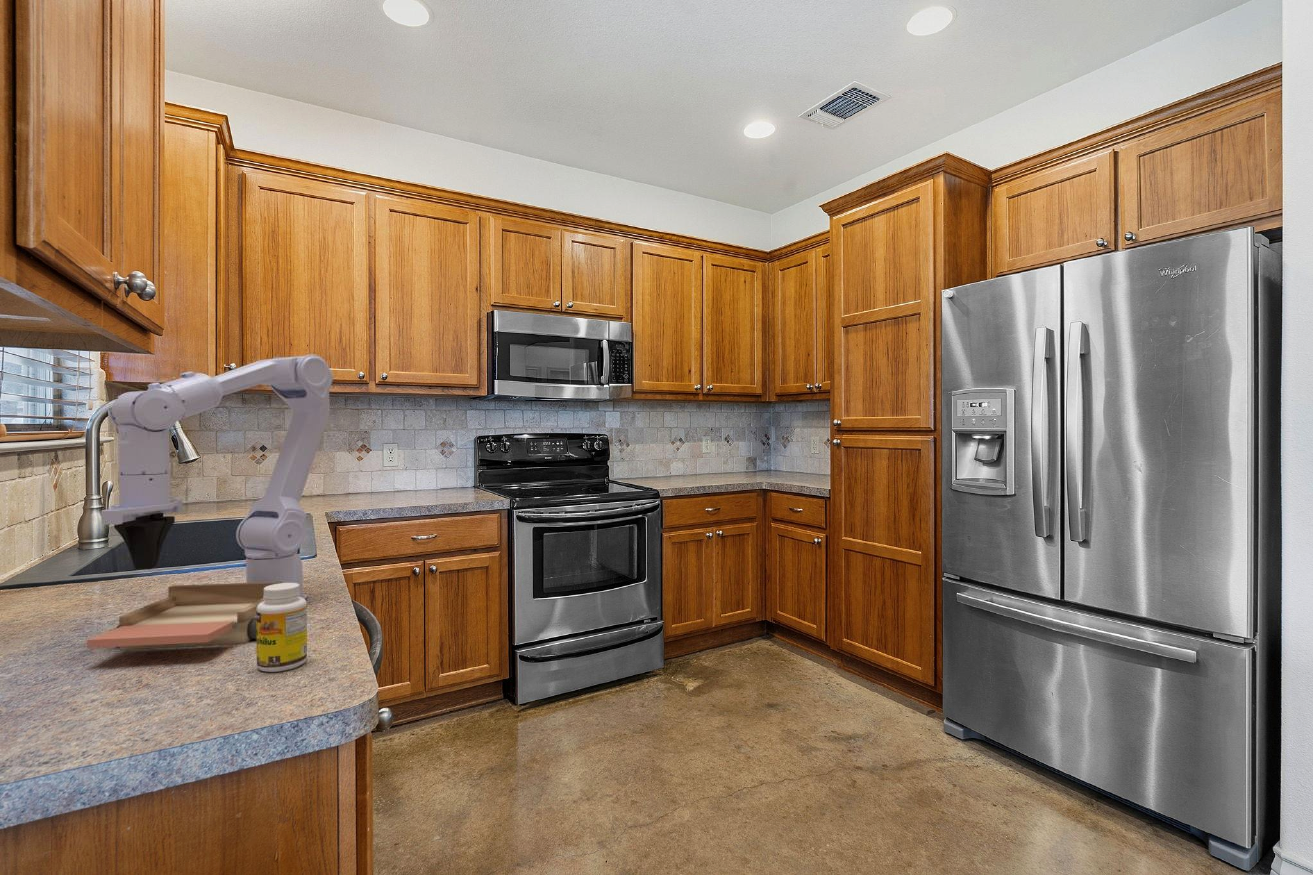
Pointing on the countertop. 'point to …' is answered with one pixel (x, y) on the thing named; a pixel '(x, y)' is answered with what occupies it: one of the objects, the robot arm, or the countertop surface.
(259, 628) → the supplement bottle
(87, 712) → the countertop surface
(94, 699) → the countertop surface
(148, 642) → the panel
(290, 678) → the countertop surface
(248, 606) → the truck bed
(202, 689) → the countertop surface
